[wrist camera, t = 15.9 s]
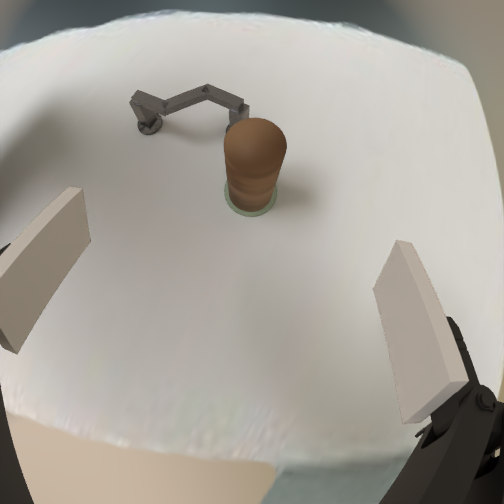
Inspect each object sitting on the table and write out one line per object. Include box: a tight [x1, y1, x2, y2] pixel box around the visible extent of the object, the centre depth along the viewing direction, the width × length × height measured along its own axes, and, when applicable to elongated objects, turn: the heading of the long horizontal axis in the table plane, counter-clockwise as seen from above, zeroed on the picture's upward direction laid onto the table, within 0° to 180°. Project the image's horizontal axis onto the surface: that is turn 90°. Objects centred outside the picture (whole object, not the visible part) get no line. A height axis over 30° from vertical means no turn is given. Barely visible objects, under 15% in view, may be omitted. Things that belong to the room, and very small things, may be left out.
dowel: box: [224, 118, 287, 212], centre depth 30 cm, size 5×5×12 cm
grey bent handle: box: [129, 84, 249, 135], centre depth 34 cm, size 15×4×7 cm, turn 84°
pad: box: [225, 182, 277, 217], centre depth 36 cm, size 6×6×1 cm
